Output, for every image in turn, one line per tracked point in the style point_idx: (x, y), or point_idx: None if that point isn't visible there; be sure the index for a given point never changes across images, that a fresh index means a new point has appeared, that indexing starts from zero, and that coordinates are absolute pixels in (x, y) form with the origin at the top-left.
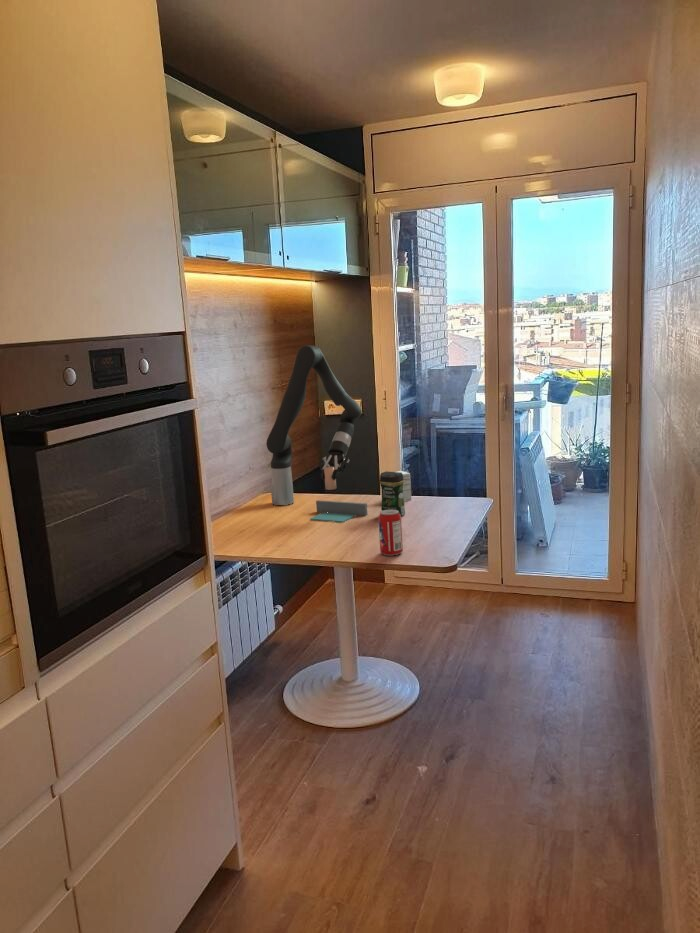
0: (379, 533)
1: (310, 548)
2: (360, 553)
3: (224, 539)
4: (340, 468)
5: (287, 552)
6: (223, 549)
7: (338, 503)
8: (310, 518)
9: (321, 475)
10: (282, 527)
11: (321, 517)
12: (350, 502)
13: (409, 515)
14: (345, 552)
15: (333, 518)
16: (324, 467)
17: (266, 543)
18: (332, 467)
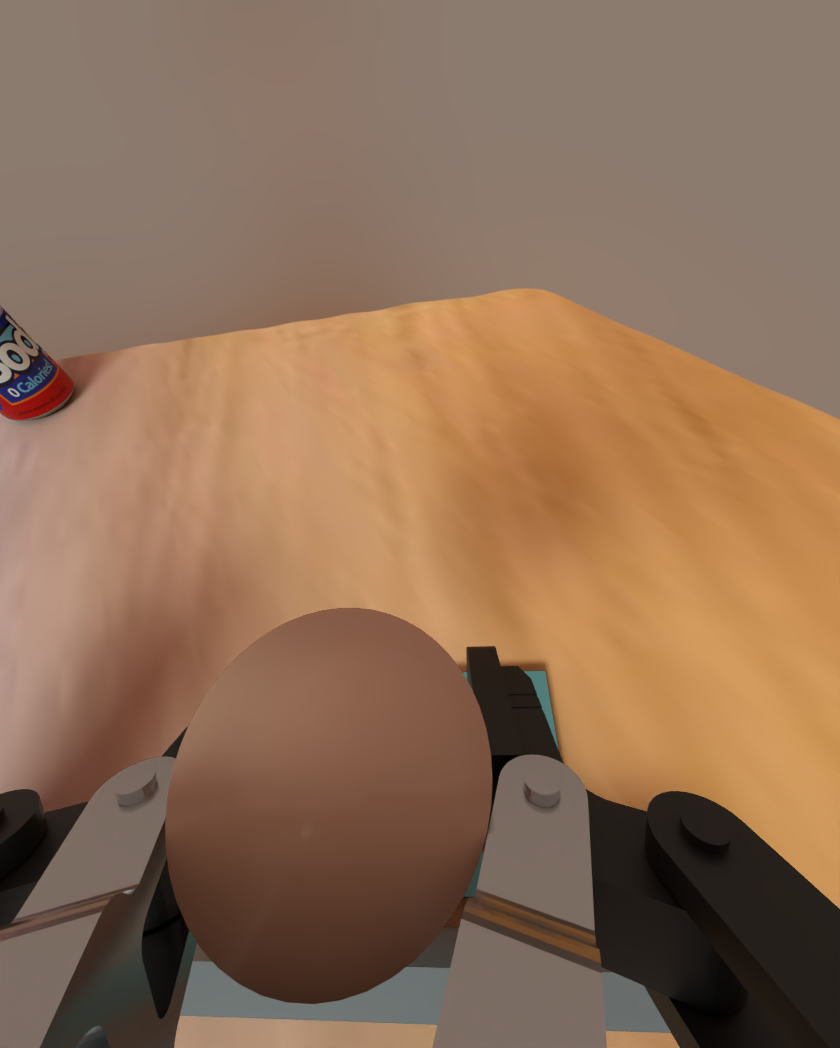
0: (19, 325)
1: (306, 369)
2: (140, 380)
3: (653, 347)
4: (8, 792)
5: (358, 333)
6: (559, 300)
7: (440, 962)
8: (544, 676)
9: (495, 656)
10: (577, 509)
11: None
12: (309, 1009)
13: None
14: (187, 375)
15: None
16: (464, 701)
17: (475, 360)
18: (222, 740)
